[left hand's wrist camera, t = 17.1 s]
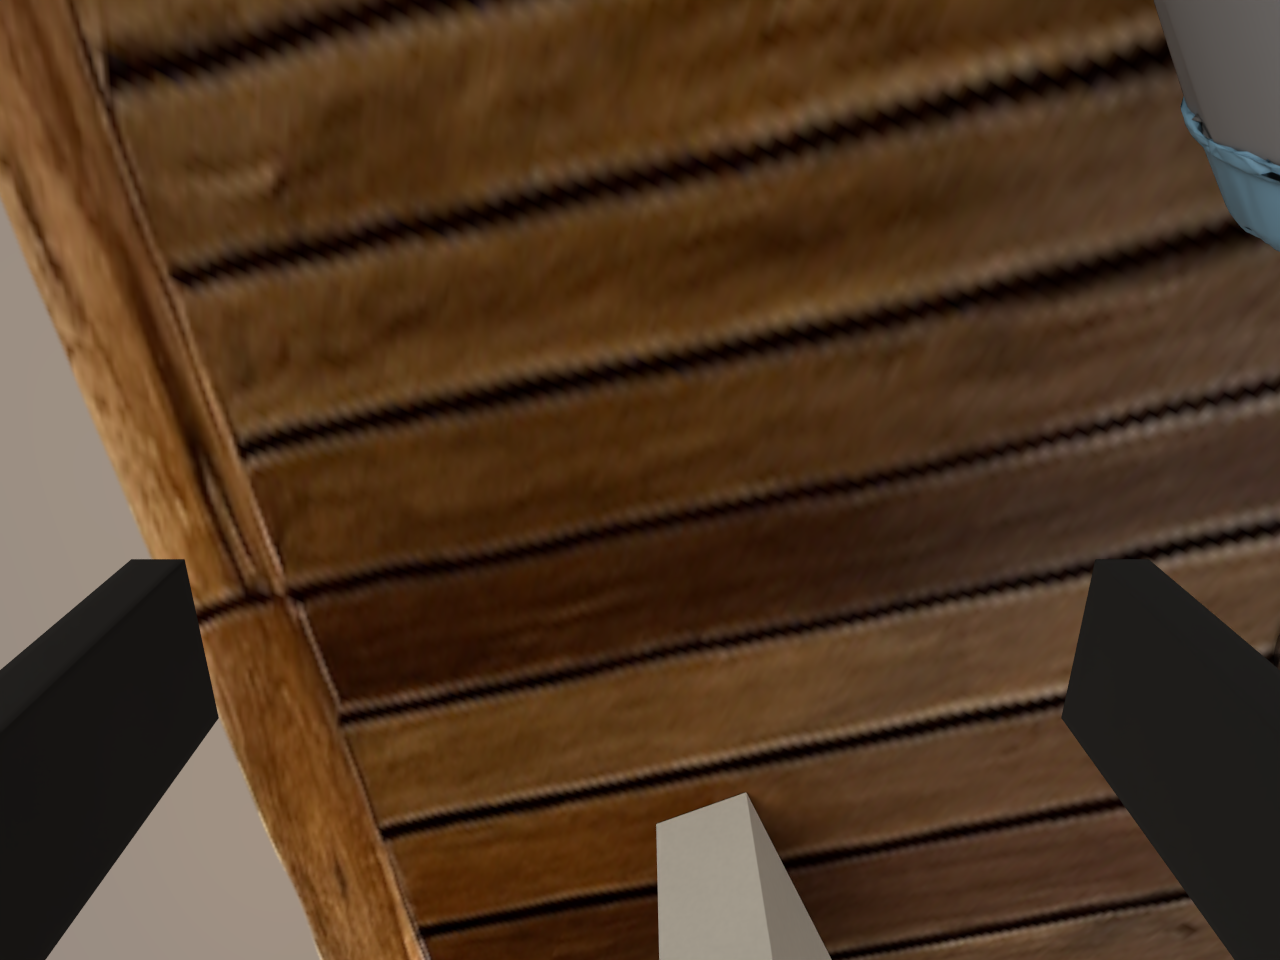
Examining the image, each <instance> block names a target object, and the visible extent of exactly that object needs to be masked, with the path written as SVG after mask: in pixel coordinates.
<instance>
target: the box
mask: <svg viewBox="0 0 1280 960" xmlns="http://www.w3.org/2000/svg"><path fill="white" fill-rule="evenodd" d="M656 830H657V874H658V918H659V960H832V959H831V958H830V956H829V954H828V952H827V950H826V948H825V946H824V944H823V942H822V940H821V938H820V936H819V934H818V932H817V930H816V928H815V926H814V924H813V922H812V920H811V918H810V916H809V914H808V912H807V910H806V908H805V907H804V905H803V903H802V901H801V899H800V897H799V895H798V893H797V891H796V889H795V887H794V885H793V883H792V881H791V879H790V877H789V875H788V873H787V871H786V869H785V867H784V865H783V863H782V861H781V859H780V857H779V856H778V854H777V852H776V850H775V848H774V846H773V844H772V842H771V840H770V838H769V836H768V834H767V832H766V830H765V828H764V826H763V824H762V822H761V820H760V818H759V816H758V814H757V812H756V810H755V808H754V807H753V805H752V803H751V801H750V799H749V797H748V795H747V793H743V794H740V795H737V796H734V797H732V798H729V799H726V800H723V801H720V802H717V803H715V804H712V805H709V806H706V807H703V808H700V809H698V810H695V811H692V812H689V813H686V814H683V815H681V816H678V817H675V818H672V819H669V820H666V821H664V822H661V823H658V824H656Z"/></svg>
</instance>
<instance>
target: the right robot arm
mask: <svg viewBox="0 0 1280 960" xmlns="http://www.w3.org/2000/svg"><path fill="white" fill-rule="evenodd" d="M1274 666H1275V667H1277V668H1278V669H1279V670H1280V635H1279V637H1278V640H1277V643H1276V647H1275V652H1274Z"/></svg>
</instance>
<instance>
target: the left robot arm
mask: <svg viewBox="0 0 1280 960" xmlns="http://www.w3.org/2000/svg"><path fill="white" fill-rule="evenodd" d="M1154 3H1155V6H1156V9H1157V13H1158V16H1159V19H1160V22H1161V25H1162V28H1163V32H1164V35H1165V38H1166V41H1167V44H1168V48H1169V51H1170V54H1171V57H1172V60H1173V63H1174V67H1175V70H1176V73H1177V76H1178V79H1179V82H1180V86H1181V89H1182V92H1183V95H1184V97H1183V100H1182V104H1181V111H1182V114H1183V117H1184V121H1185V125H1186V126H1187V128H1188V130H1189V132H1190V133H1191V135H1192V137H1193V138H1194V139H1195V140H1196V141H1197V142H1198V143H1199V144H1201V145H1202V146H1203V147H1204V150H1205V152H1206V155H1207V158H1208V160H1209V163H1210V165H1211V168H1212V170H1213V173H1214V175H1215V178H1216V181H1217V183H1218V186H1219V189H1220V191H1221V194H1222V197H1223V199H1224V202H1225V204H1226V206H1227V208H1228V210H1229V212H1230V214H1231V215H1232V216H1233V218H1234V219H1235V220H1236V222H1237V223H1238V224H1239V225H1240V226H1241V228H1243V229H1244V230H1245V231H1246V232H1248V233H1250V234H1252V235H1254V236H1256V237H1258V238H1260V239H1262V240H1263V241H1264V242H1265V243H1267V244H1269V245H1270V246H1272V247H1273V248H1274V249H1275V250H1277V251H1279V252H1280V0H1154ZM218 718H219V717H218V713H217V708H216V703H215V699H214V694H213V690H212V685H211V680H210V676H209V671H208V666H207V662H206V657H205V652H204V648H203V643H202V638H201V634H200V629H199V624H198V620H197V615H196V611H195V606H194V601H193V597H192V592H191V587H190V583H189V578H188V573H187V569H186V564H185V559H131V560H130V561H129V562H128V563H127V564H125V565H124V566H123V567H122V568H121V569H119V570H118V571H117V572H116V573H115V574H114V575H112V576H111V577H110V578H109V579H108V580H106V581H105V582H104V583H103V584H102V585H101V586H99V587H98V588H97V589H96V590H95V591H93V592H92V593H91V594H90V595H89V596H87V597H86V598H85V599H84V600H83V601H82V602H80V603H79V604H78V605H77V606H76V607H74V608H73V609H72V610H71V611H70V612H69V613H67V614H66V615H65V616H64V617H63V618H61V619H60V620H59V621H58V622H57V623H56V624H54V625H53V626H52V627H51V628H50V629H48V630H47V631H46V632H45V633H44V634H43V635H41V636H40V637H39V638H38V639H37V640H36V641H34V642H33V643H32V644H31V645H29V646H28V647H27V648H26V649H25V650H24V651H22V652H21V653H20V654H19V655H18V656H17V657H15V658H14V659H13V660H12V661H11V662H9V663H8V664H7V665H6V666H5V667H3V668H2V669H1V670H0V960H45V959H46V958H47V957H48V955H49V954H50V953H51V951H52V950H53V948H54V947H55V945H56V944H57V943H58V941H59V940H60V939H61V937H62V936H63V934H64V933H65V932H66V930H67V929H68V927H69V926H70V925H71V923H72V922H73V920H74V919H75V918H76V916H77V915H78V913H79V912H80V911H81V909H82V908H83V906H84V905H85V904H86V902H87V901H88V899H89V898H90V897H91V895H92V894H93V893H94V891H95V890H96V888H97V887H98V886H99V884H100V883H101V881H102V880H103V879H104V877H105V876H106V874H107V873H108V872H109V870H110V869H111V867H112V866H113V865H114V863H115V862H116V860H117V859H118V858H119V856H120V855H121V853H122V852H123V851H124V849H125V848H126V846H127V845H128V844H129V842H130V841H131V839H132V838H133V837H134V835H135V834H136V833H137V831H138V830H139V828H140V827H141V826H142V824H143V823H144V821H145V820H146V819H147V817H148V816H149V814H150V813H151V812H152V810H153V809H154V807H155V806H156V805H157V803H158V802H159V800H160V799H161V798H162V796H163V795H164V793H165V792H166V791H167V789H168V788H169V786H170V785H171V784H172V782H173V781H174V779H175V778H176V777H177V775H178V774H179V772H180V771H181V770H182V768H183V767H184V766H185V764H186V763H187V761H188V760H189V759H190V757H191V756H192V754H193V753H194V752H195V750H196V749H197V747H198V746H199V745H200V743H201V742H202V740H203V739H204V738H205V736H206V735H207V733H208V732H209V731H210V729H211V728H212V726H213V725H214V724H215V722H216V721H217V719H218ZM1061 718H1062V719H1063V721H1064V722H1065V724H1066V725H1067V726H1068V728H1069V729H1070V731H1071V732H1072V733H1073V735H1074V736H1075V738H1076V739H1077V740H1078V742H1079V743H1080V745H1081V746H1082V747H1083V749H1084V750H1085V752H1086V753H1087V754H1088V756H1089V757H1090V759H1091V760H1092V761H1093V763H1094V764H1095V766H1096V767H1097V768H1098V770H1099V771H1100V773H1101V774H1102V775H1103V777H1104V778H1105V779H1106V781H1107V782H1108V784H1109V785H1110V786H1111V788H1112V789H1113V791H1114V792H1115V793H1116V795H1117V796H1118V798H1119V799H1120V800H1121V802H1122V803H1123V805H1124V806H1125V807H1126V809H1127V810H1128V812H1129V813H1130V814H1131V816H1132V817H1133V819H1134V820H1135V821H1136V823H1137V824H1138V826H1139V827H1140V828H1141V830H1142V831H1143V833H1144V834H1145V835H1146V837H1147V838H1148V839H1149V841H1150V842H1151V844H1152V845H1153V846H1154V848H1155V849H1156V851H1157V852H1158V853H1159V855H1160V856H1161V858H1162V859H1163V860H1164V862H1165V863H1166V865H1167V866H1168V867H1169V869H1170V870H1171V872H1172V873H1173V874H1174V876H1175V877H1176V879H1177V880H1178V881H1179V883H1180V884H1181V886H1182V887H1183V888H1184V890H1185V891H1186V893H1187V894H1188V895H1189V897H1190V898H1191V900H1192V901H1193V902H1194V904H1195V905H1196V906H1197V908H1198V909H1199V911H1200V912H1201V913H1202V915H1203V916H1204V918H1205V919H1206V920H1207V922H1208V923H1209V925H1210V926H1211V927H1212V929H1213V930H1214V932H1215V933H1216V934H1217V936H1218V937H1219V939H1220V940H1221V941H1222V943H1223V944H1224V946H1225V947H1226V948H1227V950H1228V951H1229V953H1230V954H1231V955H1232V957H1233V958H1234V960H1280V670H1279V669H1278V668H1277V667H1275V666H1274V665H1273V664H1272V663H1271V662H1269V661H1268V660H1267V659H1266V658H1265V657H1264V656H1262V655H1261V654H1260V653H1259V652H1258V651H1256V650H1255V649H1254V648H1253V647H1252V646H1251V645H1249V644H1248V643H1247V642H1246V641H1245V640H1243V639H1242V638H1241V637H1240V636H1239V635H1237V634H1236V633H1235V632H1234V631H1233V630H1232V629H1230V628H1229V627H1228V626H1227V625H1226V624H1224V623H1223V622H1222V621H1221V620H1220V619H1219V618H1217V617H1216V616H1215V615H1214V614H1213V613H1211V612H1210V611H1209V610H1208V609H1207V608H1206V607H1204V606H1203V605H1202V604H1201V603H1200V602H1198V601H1197V600H1196V599H1195V598H1194V597H1192V596H1191V595H1190V594H1189V593H1188V592H1187V591H1185V590H1184V589H1183V588H1182V587H1181V586H1179V585H1178V584H1177V583H1176V582H1175V581H1174V580H1172V579H1171V578H1170V577H1169V576H1168V575H1166V574H1165V573H1164V572H1163V571H1162V570H1161V569H1159V568H1158V567H1157V566H1156V565H1155V564H1153V563H1152V562H1151V561H1150V560H1149V559H1095V564H1094V569H1093V573H1092V578H1091V583H1090V587H1089V592H1088V597H1087V601H1086V606H1085V611H1084V615H1083V620H1082V624H1081V629H1080V634H1079V638H1078V643H1077V648H1076V652H1075V657H1074V662H1073V666H1072V671H1071V676H1070V680H1069V685H1068V690H1067V694H1066V699H1065V703H1064V708H1063V713H1062V717H1061Z"/></svg>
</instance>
